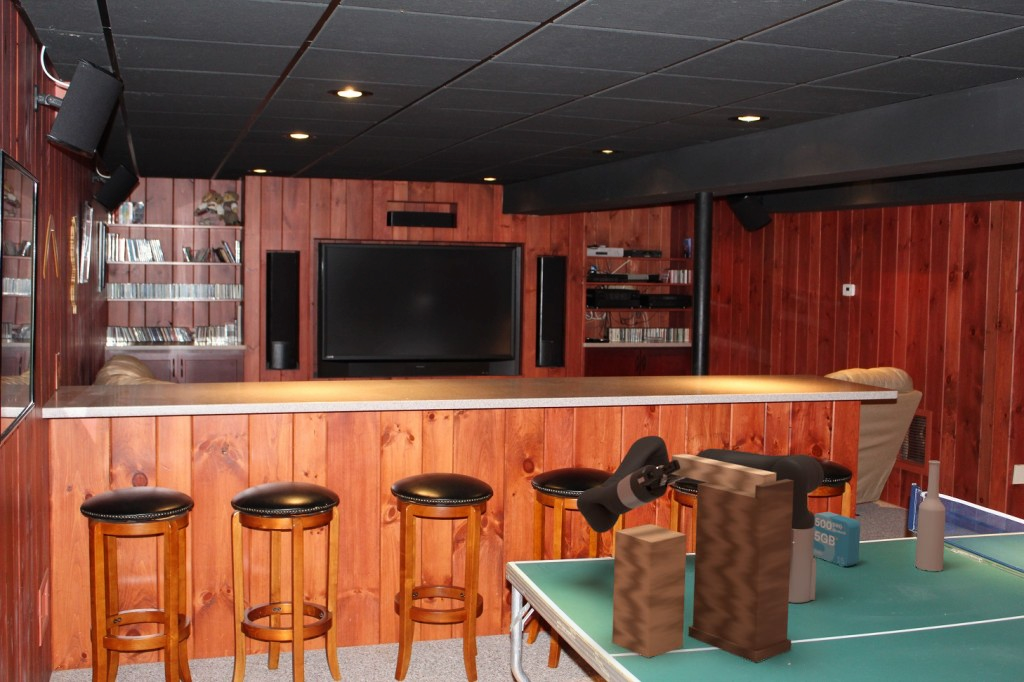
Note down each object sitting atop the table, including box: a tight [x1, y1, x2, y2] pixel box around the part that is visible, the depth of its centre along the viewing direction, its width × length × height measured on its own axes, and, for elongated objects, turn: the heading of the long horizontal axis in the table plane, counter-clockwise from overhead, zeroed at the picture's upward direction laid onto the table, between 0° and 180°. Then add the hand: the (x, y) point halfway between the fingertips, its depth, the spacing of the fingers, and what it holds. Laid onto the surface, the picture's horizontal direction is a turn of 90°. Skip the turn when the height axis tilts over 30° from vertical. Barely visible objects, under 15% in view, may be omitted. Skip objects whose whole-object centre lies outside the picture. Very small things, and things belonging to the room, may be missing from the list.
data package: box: [813, 511, 861, 567], centre depth 259 cm, size 12×4×12 cm, turn 31°
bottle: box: [914, 459, 946, 571], centre depth 253 cm, size 7×7×28 cm
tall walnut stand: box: [687, 479, 794, 663], centre depth 199 cm, size 17×11×34 cm, turn 39°
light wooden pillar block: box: [611, 523, 687, 658], centre depth 198 cm, size 10×10×23 cm
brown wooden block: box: [671, 453, 776, 494], centre depth 203 cm, size 24×4×4 cm, turn 39°
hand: (691, 461), depth 209 cm, fingers open, 7 cm apart
